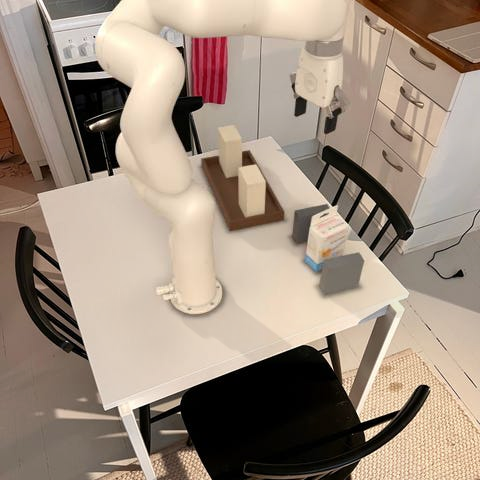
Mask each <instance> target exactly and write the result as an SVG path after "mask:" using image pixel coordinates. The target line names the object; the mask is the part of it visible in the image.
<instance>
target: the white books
mask: <svg viewBox="0 0 480 480" xmlns="http://www.w3.org/2000/svg"><path fill="white" fill-rule="evenodd" d="M217 141H218V142H217V143H218V156H219V164H220V166H221V168H222V170H223V172H224V174H225V176H226V178H229V177H235V176H238V177H239V206H240V208H241V210H242V212H243V214H244V216H245V218H246V217H251V216H256V215H261V214H264V212H265V189H266V181H265V179H264V177H263V175H264V174H263V175H262V174H261V172H260V170H259V168H260V167H259V168H258V167H257V165H256V164H255V165H249V166H244V167H242V151H243V138H242V136H241V134H240V132H239V131H238V129H237V128H236V126H235V124H230V125H224V126H219V127H217Z"/></svg>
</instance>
